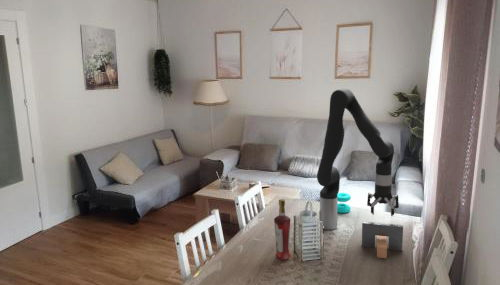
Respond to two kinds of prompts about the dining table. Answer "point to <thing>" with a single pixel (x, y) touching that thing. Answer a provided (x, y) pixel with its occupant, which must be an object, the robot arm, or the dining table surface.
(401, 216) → the dining table surface
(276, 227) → the liquor
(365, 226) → the plate
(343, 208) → the donuts
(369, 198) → the robot arm
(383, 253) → the plug
